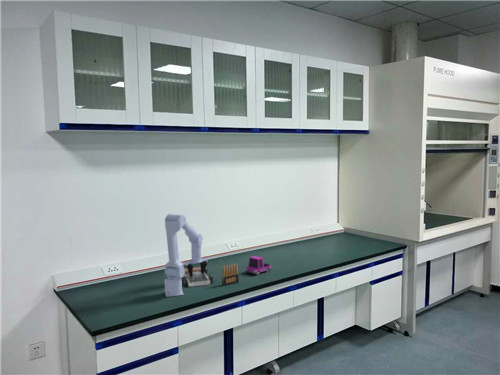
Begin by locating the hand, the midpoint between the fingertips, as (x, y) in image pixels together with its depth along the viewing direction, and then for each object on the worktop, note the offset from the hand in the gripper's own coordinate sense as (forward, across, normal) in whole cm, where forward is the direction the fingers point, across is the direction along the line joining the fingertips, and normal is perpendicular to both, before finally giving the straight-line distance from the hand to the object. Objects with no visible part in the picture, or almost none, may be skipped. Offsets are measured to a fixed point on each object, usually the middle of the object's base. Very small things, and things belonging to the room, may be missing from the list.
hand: (196, 275), depth 247 cm
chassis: (+4, +1, +3) cm, 5 cm away
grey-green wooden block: (+3, 0, -1) cm, 3 cm away
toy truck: (+4, +41, -8) cm, 42 cm away
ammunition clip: (+4, +14, -16) cm, 21 cm away
